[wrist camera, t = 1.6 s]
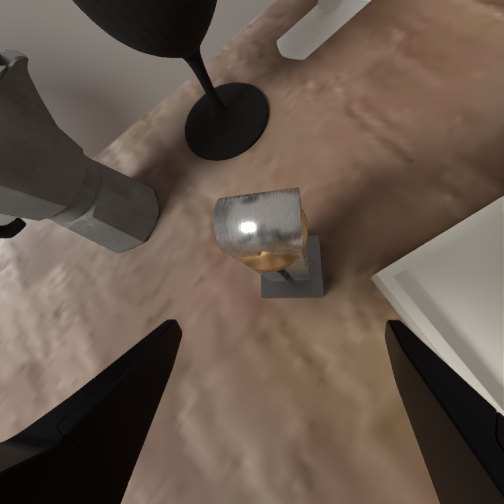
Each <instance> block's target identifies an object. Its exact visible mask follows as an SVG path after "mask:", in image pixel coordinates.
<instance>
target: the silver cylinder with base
mask: <svg viewBox="0 0 504 504" xmlns="http://www.w3.org/2000/svg"><path fill="white" fill-rule="evenodd" d="M214 230H215V236H216V239H217V243H218V245H219V247H220V249H221V251H222V252H223V253H224V254H226V255H230V256H232V257H233V258H235V259H237V260H238V261H240V262H241V263H243V264H245V265H246V266H248V267H250V268H251V269H253V270H255V271H256V272H258V273H260V274H261V296H262V298H309V297H324V291H323V279H322V267H321V255H320V243H319V235H313V236H308V225H307V219H306V216H305V213H304V211H303V209H302V207H301V198H300V190H299V187H296V188H289V189H282V190H275V191H268V192H261V193H254V194H247V195H240V196H233V197H226V198H220V199H218V200H217V202H216V204H215V208H214Z"/></svg>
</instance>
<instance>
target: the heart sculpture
mask: <svg viewBox="0 0 504 504" xmlns="http://www.w3.org/2000/svg"><path fill="white" fill-rule="evenodd" d="M370 1H371V0H318V4H317V5H316V6H315V7H314V8H313V9H312V10H311V11H310V12H308V13H307V14H306V15H305V16H304V17H303V18H302V19H301V20H300V21H298V22H297V23H296V24H295V25H294V26H293V27H292V28H291V29H289V30H288V31H287V32H286V33H285V34H284V35H283V36H282V37H281V38H279V39H278V40H277V46H278V49H279V52H280V53H281V55H282V56H283V57H286V58H289V59H296V60H304V59H306V58H307V57H308V56H309V55H310V54H311V53H312V52H314V51H315V50H316V49H317V48H318V47H319V46H320V45H321V44H323V43H324V42H325V41H326V40H327V39H328V38H329V37H330V36H332V35H333V34H334V33H335V32H336V31H337V30H338V29H340V28H341V27H342V26H343V25H344V24H345V23H346V22H347V21H349V20H350V19H351V18H352V17H353V16H354V15H355V14H357V13H358V12H359V11H360V10H361V9H362V8H363V7H364V6H366V5H367V4H368V3H369V2H370Z"/></svg>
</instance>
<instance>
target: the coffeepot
mask: <svg viewBox="0 0 504 504" xmlns="http://www.w3.org/2000/svg"><path fill="white" fill-rule="evenodd" d="M27 64H28V58H27V57H26V56H25V55H24V54H22V53H20V52H17V51H13V50H6V51H4V52H3V53H2V54H0V214H6V215H11V216H16V217H21V218H27V219H32V220H38V221H40V220H43V219H49V220H52V221H54V222H56V223H58V224H60V225H61V226H63V227H65V228H67V229H69V230H71V231H73V232H75V233H77V234H79V235H81V236H83V237H85V238H87V239H89V240H91V241H94V242H96V243H98V244H100V245H102V246H104V247H106V248H108V249H110V250H112V251H114V252H116V253H121V252H124V251H127V250H130V249H133V248H135V247H137V246H138V245H140V244H141V243H143V242H144V241H145V240H146V239H147V238H148V236H149V235H150V233H151V232H152V230H153V229H154V226H155V224H156V221H157V218H158V215H159V208H158V201H157V198H156V196H155V192H154V189H153V188H151V187H149V186H147V185H145V184H143V183H141V182H138V181H136V180H134V179H132V178H130V177H128V176H126V175H124V174H122V173H119V172H117V171H115V170H113V169H111V168H109V167H107V166H105V165H103V164H101V163H99V162H96V161H94V160H92V159H90V158H89V157H87V156H86V155H84V153H83V149H82V148H81V147H80V146H79V145H78V144H77V143H76V142H74V141H73V140H72V139H71V138H70V137H69V136H68V135H67V134H65V133H64V132H63V131H62V130H61V129H60V128H59V127H58V126H57V125H56V123H55V121H54V120H53V118H52V116H51V114H50V113H49V111H48V110H47V108H46V106H45V104H44V102H43V101H42V99H41V97H40V96H39V94H38V92H37V90H36V88H35V86H34V84H33V81H32V79H31V77H30V75H29V73H28V69H27ZM25 226H26V223H25V222H24V221H23V220H22V219H20V218H16V219H15V220H14V221H12V222H11V223H9V224H7V225H4V226H0V238H12V237H14V236H15V235H16V234H18V233H19V232H20V231H21V230H22V229H23V228H24V227H25Z"/></svg>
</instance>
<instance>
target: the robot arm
mask: <svg viewBox="0 0 504 504" xmlns="http://www.w3.org/2000/svg"><path fill="white" fill-rule="evenodd" d="M181 338H182V330H181V328H180V326H179V324H178V322H177V321H176V320H174V319H169V320H166V321H165V322H163V323H162V324H161V325H160V326H158V327H157V328H156V329H155V330H153V331H152V332H151V333H150V334H148V335H147V336H146V337H145V338H143V339H142V340H141V341H140V342H138V343H137V344H136V345H135V346H133V347H132V348H131V349H130V350H128V351H127V352H126V353H125V354H123V355H122V356H121V357H120V358H118V359H117V360H116V361H115V362H113V363H112V364H111V365H109V366H108V367H107V368H106V369H104V370H103V371H102V372H101V373H99V374H98V375H97V376H96V377H95V378H93V379H92V380H91V381H89V382H88V383H87V384H86V385H84V386H83V387H82V388H81V389H79V390H78V391H77V392H75V393H74V394H73V395H71V396H70V397H69V398H67V399H66V400H65V401H63V402H62V403H61V404H59V405H58V406H56V407H55V408H54V409H52V410H51V411H49V412H48V413H47V414H45V415H44V416H42V417H41V418H40V419H38V420H37V421H35V422H34V423H33V424H31V425H30V426H29V427H27V428H26V429H24V430H23V431H21V432H20V433H18V434H17V435H15V436H13V437H12V438H10V439H8V440H6V441H3V442H1V443H0V504H121V501H122V499H123V496H124V493H125V491H126V488H127V486H128V482H129V480H130V478H131V475H132V472H133V470H134V467H135V465H136V462H137V460H138V457H139V454H140V452H141V449H142V447H143V444H144V441H145V439H146V436H147V434H148V431H149V428H150V426H151V423H152V421H153V418H154V416H155V413H156V410H157V408H158V405H159V403H160V400H161V397H162V395H163V392H164V390H165V387H166V384H167V382H168V379H169V377H170V374H171V371H172V369H173V366H174V362H175V359H176V355H177V352H178V348H179V345H180V341H181ZM385 341H386V345H387V349H388V353H389V357H390V361H391V365H392V370H393V374H394V377H395V381H396V384H397V387H398V390H399V393H400V395H401V398H402V401H403V404H404V406H405V409H406V412H407V415H408V417H409V420H410V423H411V425H412V428H413V431H414V434H415V436H416V439H417V442H418V444H419V447H420V450H421V453H422V455H423V458H424V461H425V464H426V466H427V469H428V472H429V474H430V477H431V480H432V483H433V485H434V488H435V491H436V494H437V496H438V499H439V502H440V504H504V416H503V415H502V414H501V413H500V412H497V410H496V408H494V407H493V406H492V405H491V404H490V403H489V402H488V401H487V400H486V399H485V398H484V397H483V396H481V395H480V394H479V393H478V392H477V391H476V390H475V389H474V388H473V387H472V386H471V385H470V384H468V383H467V382H466V381H465V380H464V379H463V378H462V377H461V376H460V375H459V374H458V373H457V372H455V371H454V370H453V369H452V368H451V367H450V366H449V365H448V364H447V363H446V362H445V361H444V360H442V359H441V358H440V357H439V356H438V355H437V354H436V353H435V352H434V351H433V350H432V349H431V348H429V347H428V346H427V345H426V344H425V343H424V342H423V341H422V340H421V339H420V338H419V337H418V336H416V335H415V334H414V333H413V332H412V331H411V330H410V329H409V328H408V327H407V326H406V325H405V324H403V323H402V322H401V321H400V320H388V321H387V322H386V329H385Z"/></svg>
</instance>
